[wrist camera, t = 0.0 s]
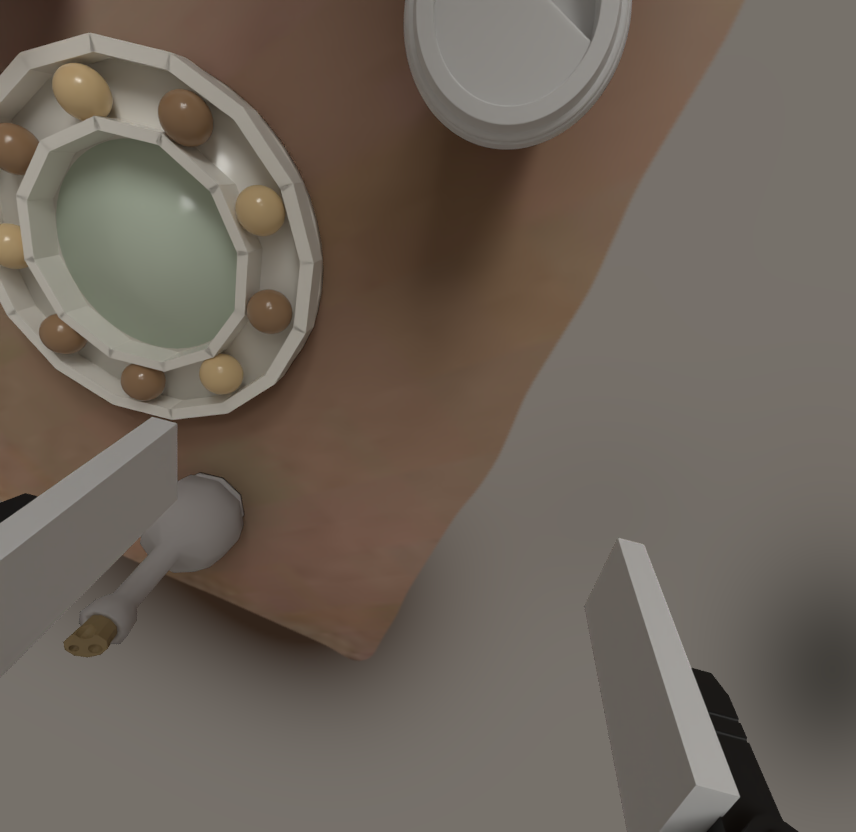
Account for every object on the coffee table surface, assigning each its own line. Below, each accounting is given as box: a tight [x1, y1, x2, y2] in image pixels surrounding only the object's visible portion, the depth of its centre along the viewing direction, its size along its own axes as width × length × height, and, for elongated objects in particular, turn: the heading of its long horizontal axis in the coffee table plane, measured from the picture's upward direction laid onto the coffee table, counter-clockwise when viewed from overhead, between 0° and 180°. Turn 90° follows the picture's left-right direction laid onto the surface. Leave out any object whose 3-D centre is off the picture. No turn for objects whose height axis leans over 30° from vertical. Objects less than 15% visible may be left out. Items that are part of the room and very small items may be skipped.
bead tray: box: [0, 32, 323, 420], centre depth 40 cm, size 27×27×4 cm
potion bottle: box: [64, 473, 244, 657], centre depth 44 cm, size 9×9×18 cm
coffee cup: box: [404, 0, 632, 149], centre depth 27 cm, size 10×10×15 cm
